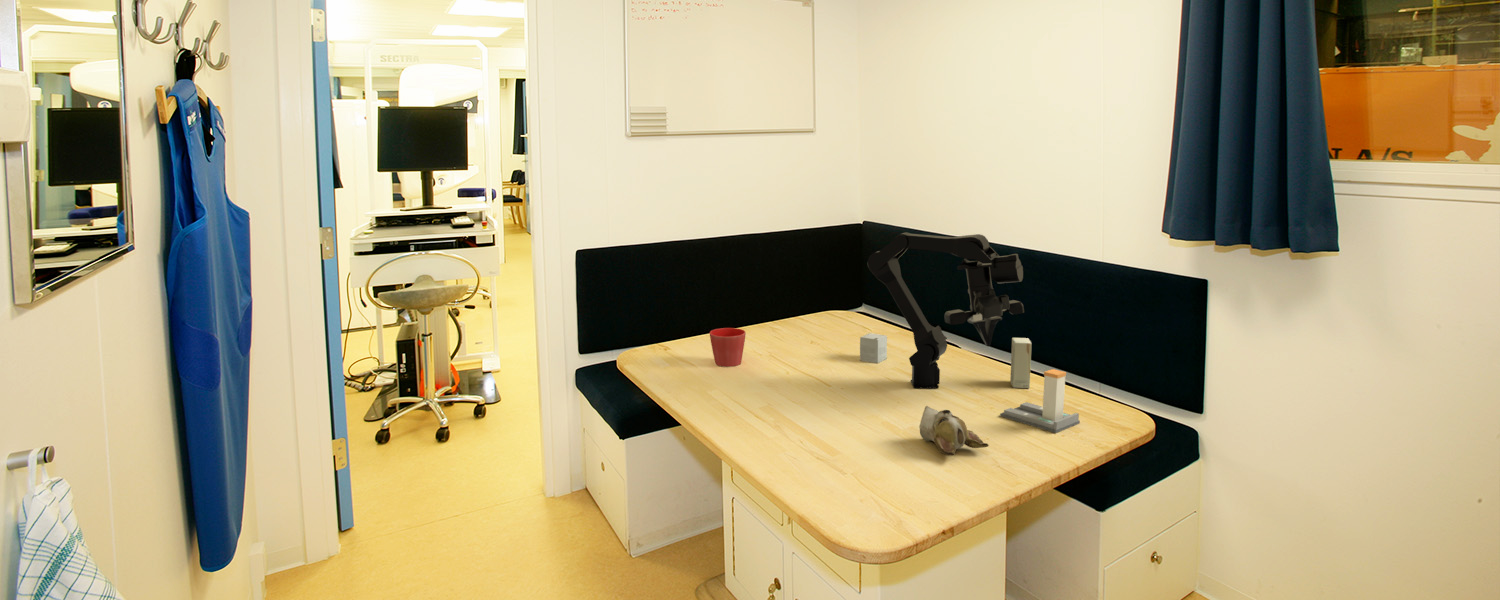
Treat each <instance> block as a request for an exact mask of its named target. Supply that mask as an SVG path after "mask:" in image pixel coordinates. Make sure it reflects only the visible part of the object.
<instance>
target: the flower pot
mask: <svg viewBox="0 0 1500 600" xmlns="http://www.w3.org/2000/svg"><path fill="white" fill-rule="evenodd" d="M746 334H747V332H746V330H744V329H742V328H737V327H736V328H735V327H723V328H722V327H721V328H715V329H712V330H710V331H709V337H710V339H709V340H710V343H711V350H712V355H713V360H714V364H715V365H716V366H718V367H723V368H724V367H725V368H733V367H737V366H740V365H741V363H742V360H743V354H744V348H745V342H746Z"/></svg>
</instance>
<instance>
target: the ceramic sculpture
mask: <svg viewBox="0 0 1500 600" xmlns="http://www.w3.org/2000/svg"><path fill="white" fill-rule="evenodd" d="M919 434H920V436H921V438H922V439H923V441H926V442H934V444H935V445H936V448H937V449H938V451H939V452H940V453H941V454H943V455H946V456H955V453H956V451H957V450H959V449H961V448H962V447H963V446H964V445H965V446H967V447H969V448H972V449H979V448H981V449H982V448H987V447H989V446H990V445H989V444H988V443H986V442H984V441H983V439H981V438H980V437H979V436H978V434H977V433H974V431H973V430H969V429H968V427H967V424H966V423H965V421H964V420H963V419H962V418H960V417H958V416H956V415H954V414H953V413H952V411H951V410H949V409H943V410H938V409H934V408H932V407H931V406H928V405H926V406H925V407H924V410H923V412H922V416H921V420H920V424H919Z"/></svg>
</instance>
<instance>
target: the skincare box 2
mask: <svg viewBox="0 0 1500 600" xmlns="http://www.w3.org/2000/svg"><path fill="white" fill-rule="evenodd" d="M1010 355H1011V358H1010V360H1011V361H1010V385H1011V386H1012V388H1017V389H1030V388H1031V387H1030V384H1031V364H1032V362H1031V361H1032V340H1030V338H1028V337H1027V338H1026V337H1012V338H1011V354H1010Z"/></svg>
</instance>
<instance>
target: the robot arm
mask: <svg viewBox="0 0 1500 600" xmlns="http://www.w3.org/2000/svg"><path fill="white" fill-rule="evenodd" d="M907 250H917V251H926V252H927V251H928V252H937V253H948V254H951V255H953V256H956V257H958V258H962V260H961V263H960V264H959V265H958V266H957V268H956V269H957V270H959V271H960V270H965V272H966V279H967V285H968V289H967V294H969V300H970V305H969V309H970V310H967V311H964V310H962V309H952V310H948V311H946V312H945V313H944V323H946V324H949V325H950V326H954V325H962V324H964V323H965V322H966V321H967V322H968V323H969V324H972V325H973V326H974V328H975V329H976V331H977V332H978V334H979V336H980V337H981V339H982V341H983V343H984V344H985V346H986V347H990V346H991V344H992V340H993V336H994V331H995V328H996V325H997V324H998V322H999V321H1002V320H1003V317H1002V316H1003V313H1009V314H1011V315H1013V316H1014V315H1021V314H1024V313H1025V307H1024V304H1023V303H1022V302H1021V301H1019V300H1014V299H1012V300H1011V299H1009V298H1010V297H1009V295H1007V294H1001V295H999V296H997V295H996V291H995V289H994V288H993V283H992V280H993V282H995V283H997V284H1005V283H1006V284H1008V283H1018V282H1019V283H1020V282H1022V281H1023V279H1024V267H1023V265H1022V262H1021V259H1019V254H1018V253H1012V254H1009V255H1001V256H1000V255H999V254H998V253H997V252H996V251H995V250H994V249H993V248H992V247H991V246H990V243H989V240H988V238H987V237H986V236H985V235H983V234H980V233H979V234H976V233H975V234H967V235H959V236H946V235H945V236H943V235H942V236H941V235H931V234H920V233H918V234H917V233H910V232H903V233H900V234H897V236H895V238H894V239H893V240H892V241H890V242H889V243H888V244H886V245H885V246H884V247H883V248H880V250H878V251H875V252H873V253H871V254H870V255H869V256H868V259H867V263H866V264H867V267H868V269H869V271H870V272H871V273H872V275H873V276H875V278H876V279H877V280H878V281H880V282H881V283H882V284H884V286H886V288H887V290H888V292H889V293H890V295H891V297H892V298H893V300H894V302H895V304H896V305H897V307H898V309H899V310H900V312H901V314H902V316H903V318H904V319H905V321H906V323H907V324H908V326H909V327H910V329H911V331H912V335H913V342H914V345H915V348H916V350H917V351H916V352H915V353H913V354H912V355H911V356H910V357H908V359H909V363H910V366H911V379H910V384H911V386H912V387H913V389H939V387H940V386H939V385H940V380H941V379H940V377H941V369H940V368H939V363H938V360H940V357H941V356H943V355H944V354H945V352H946V351H947V348H948V342H947V341H946V340H948V337H947V336H945V335H944V333H943V331H942V327H940V325H937V326H936V327H935V326H933V325H931V324H930V323H929V322H928V320H927V319H926V317H925V315H924V314H923V311H922V309H921V308H920V306H919V305H918V302H917V301H916V299H915V298H914V296H913V294H912V293H911V291H910V289H909V288H908V286H907V284H906V283H905V281H904V279H903V277H902V273H901V267H900V266H901V265H900V262H899V258H900V257H902V256H903V254H905V252H906V251H907Z"/></svg>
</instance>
